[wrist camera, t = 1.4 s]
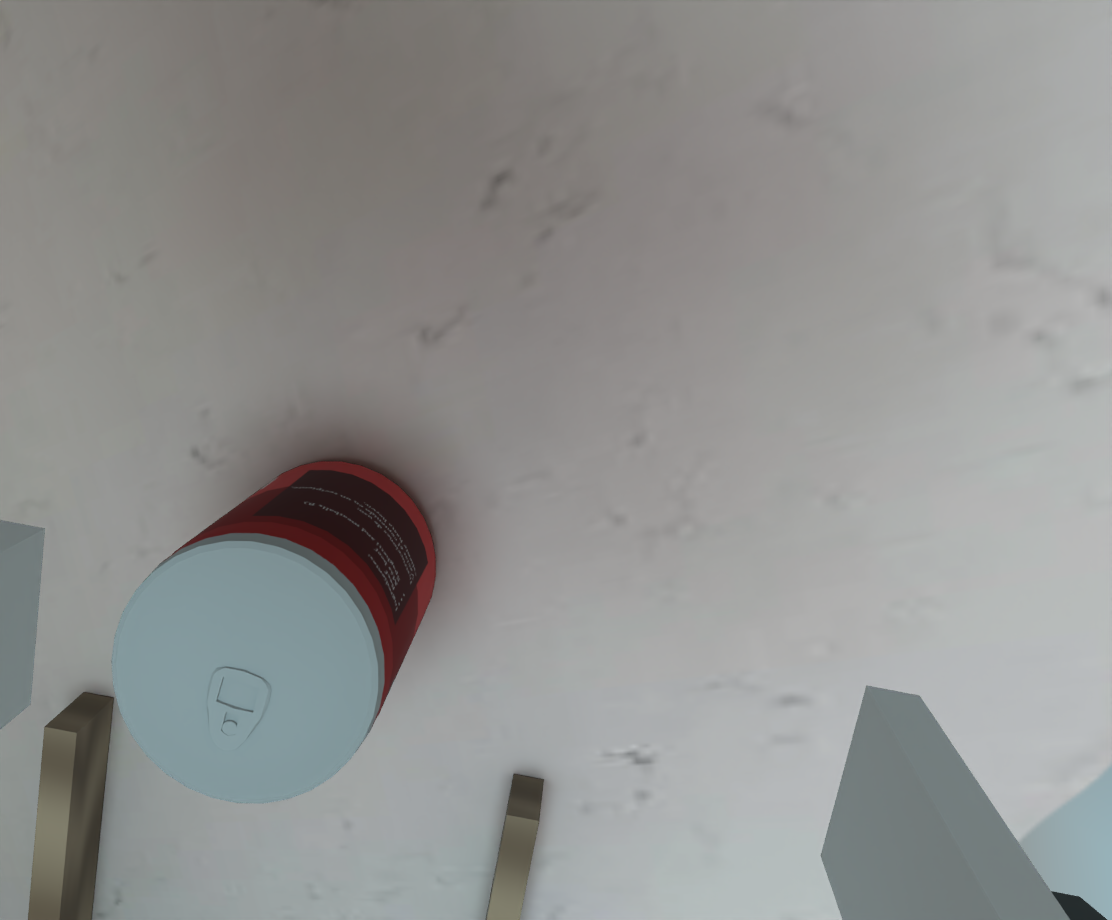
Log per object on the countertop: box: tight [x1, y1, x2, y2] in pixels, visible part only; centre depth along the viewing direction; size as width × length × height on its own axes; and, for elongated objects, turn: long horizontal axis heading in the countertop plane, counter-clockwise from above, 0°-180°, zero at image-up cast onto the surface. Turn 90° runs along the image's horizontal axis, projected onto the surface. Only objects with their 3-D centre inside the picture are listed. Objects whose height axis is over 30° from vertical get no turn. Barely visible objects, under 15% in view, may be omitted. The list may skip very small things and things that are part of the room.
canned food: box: [112, 461, 436, 803], centre depth 35 cm, size 8×8×11 cm
